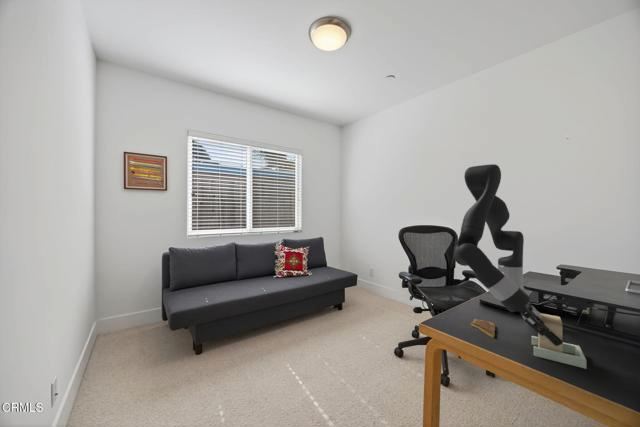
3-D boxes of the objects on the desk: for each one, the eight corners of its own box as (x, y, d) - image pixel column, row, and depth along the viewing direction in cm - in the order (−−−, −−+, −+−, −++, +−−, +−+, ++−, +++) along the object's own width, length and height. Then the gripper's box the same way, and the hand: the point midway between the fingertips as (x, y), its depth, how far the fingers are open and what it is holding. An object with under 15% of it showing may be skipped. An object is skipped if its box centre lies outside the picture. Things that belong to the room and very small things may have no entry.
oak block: (538, 347, 80) (537, 312, 80) (559, 352, 77) (559, 316, 77) (539, 354, 76) (539, 318, 76) (562, 360, 73) (562, 322, 73)
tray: (531, 343, 82) (531, 335, 82) (579, 353, 76) (579, 345, 76) (533, 355, 76) (533, 347, 75) (586, 368, 69) (586, 359, 69)
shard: (494, 339, 86) (494, 334, 86) (468, 333, 90) (468, 328, 90) (495, 327, 95) (495, 322, 95) (471, 322, 99) (471, 317, 99)
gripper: (518, 292, 75) (576, 344, 68) (517, 280, 86) (565, 324, 79) (497, 306, 78) (549, 357, 71) (498, 293, 90) (543, 336, 83)
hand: (557, 339), depth 75 cm, fingers closed on oak block, 5 cm apart
